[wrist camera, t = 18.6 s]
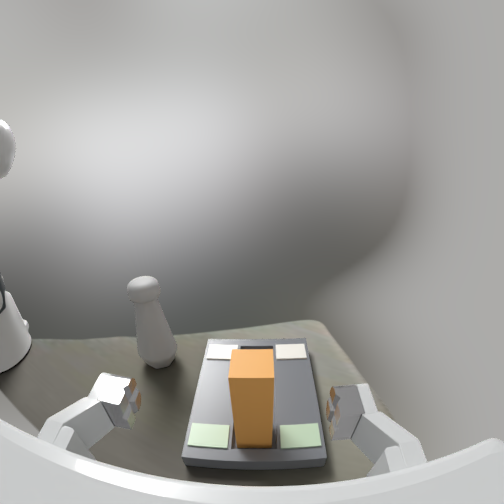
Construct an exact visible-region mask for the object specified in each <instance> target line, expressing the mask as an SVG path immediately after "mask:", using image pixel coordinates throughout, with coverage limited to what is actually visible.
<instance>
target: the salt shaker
mask: <svg viewBox="0 0 504 504" xmlns="http://www.w3.org/2000/svg"><path fill="white" fill-rule="evenodd" d="M127 292H128V296H129V299H130V301H132V302H133V303H134V304H135V320H136V334H137V348H138V354H139V356H140V357H141V358H142V359H143V360H144V361H145V362H146V363H147V364H148V365H150V366H152V367H154V368H156V369H159V368H163V367H168V366H169V365H170V364H171V362H172V361H173V360H174V358H175V354H176V351H177V344H176V341H175V339H174V337H173V335H172V332H171V330H170V328H169V325H168V323H167V321H166V319H165V316H164V314H163V311H162V308H161V306H160V304H159V301H158V297H159V295H160V287H159V284H158V281H157V280H156V279H155V278H153V277H151V276H141V277H138V278H135V279H133V280H131V281H130V283H129V284H128V285H127Z"/></svg>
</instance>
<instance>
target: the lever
mask: <svg viewBox="0 0 504 504" xmlns="http://www.w3.org/2000/svg"><path fill="white" fill-rule="evenodd" d="M228 381H229V389H230V398H231V406H232V414H233V421H234V429H235V436H236V444H237V448H272V430H273V403H274V360H273V349H232V352H231V360H230V367H229V375H228Z"/></svg>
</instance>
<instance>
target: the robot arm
mask: <svg viewBox="0 0 504 504" xmlns="http://www.w3.org/2000/svg"><path fill="white" fill-rule="evenodd" d="M14 157H15V139H14V135H13V132H12V130H11V129H10V127H9V126H8V125H7V123H6V122H4V121H3V120H1V119H0V179H2V178H3V177H5V176H6V175H7V174H8V172H9V170H10V169H11V166H12V164H13V161H14ZM3 281H4V280H3V277H2V275H1V273H0V373H1V372H3V371H6V370H8V369H9V368H11V367H13V366H14V365H15V364H17V363H18V362H19V361H20V360H21V359H22V358H23V357H24V356H25V355H26V353H27V352H28V350H29V348H30V345H31V336H30V334H29V333H28V328H29V325H28V323H27V321H26V320H23V319H22V317H21V315H20V313H19V311H18V309H17V307H16V305H15V303H14V300H13V298H12V296H11V294H10V293H9V292H7V291H5V285H4V282H3ZM135 387H136V381H135V379H133V378H128V377H123V376H118V375H113V374H108V373H102V374H100V376H99V378H98V379H97V381H96V383H95V385H94V387H93V388H92V390H91V392H90V394H89V396H88V397H84V398H82V399H81V400H79V401H77V402H75V403H74V404H72V405H70V406H69V407H67V408H65V409H63V410H62V411H60V412H58V413H56V414H55V415H53V416H51V417H49V418H48V419H47V421H46V422H45V424H44V426H43V428H42V429H41V431H40V433H39V435H38V437H34V436H32V435H30V434H28V433H26V432H24V431H22V430H20V429H18V428H16V427H14V426H12V425H10V424H8V423H7V422H5V421H3V420H1V419H0V504H504V442H503V441H501V440H499V439H496V438H490V439H487V440H485V441H482V442H480V443H478V444H476V445H473V446H471V447H468V448H466V449H464V450H461V451H458V452H456V453H453V454H450V455H448V456H445V457H442V458H439V459H436V460H433V461H430V462H427V460H426V457H425V455H424V452H423V449H422V447H421V444H420V441H419V439H417V438H416V437H415V436H413V435H412V434H410V433H409V432H408V431H406V430H405V429H404V428H402V427H401V426H400V425H398V424H397V423H396V422H394V421H393V420H392V419H390V418H389V417H388V416H386V415H385V414H384V413H382V412H378V410H377V407H376V405H375V402H374V399H373V396H372V393H371V390H370V388H369V385H368V384H367V383H366V384H356V385H345V386H333V387H332V388H331V390H330V396H331V397H330V398H329V399H328V401H327V408H326V413H327V420H328V421H330V422H331V424H330V427H329V431H330V436H331V440H343V439H351V440H352V442H353V443H354V444H355V445H356V446H357V447H358V448H359V449H360V450H361V451H362V452H363V453H364V454H365V455H366V456H367V457H368V458H369V459H370V460H371V461H372V462H373V463H374V464H375V465H374V466H373V468H372V469H371V470H370V472H369V473H368V474H367V475H366V477H365V478H360V479H354V480H347V481H340V482H332V483H323V484H313V485H299V486H232V485H218V484H207V483H198V482H190V481H183V480H176V479H170V478H165V477H159V476H154V475H149V474H145V473H140V472H136V471H132V470H128V469H124V468H120V467H116V466H113V465H109V464H106V463H102V462H99V461H96V460H95V457H94V456H93V454H92V453H91V452H90V451H89V448H90V447H91V446H93V445H94V444H95V443H96V442H97V441H99V440H100V439H101V438H102V437H103V436H105V435H106V434H107V433H108V432H109V431H111V430H112V429H113V428H114V426H116V427H121V428H126V429H131V430H132V427H133V425H134V422H135V419H136V417H135V415H134V413H136V412H137V411H139V408H140V406H141V394H140V392H139V390H138V389H136V388H135Z"/></svg>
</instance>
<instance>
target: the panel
mask: <svg viewBox="0 0 504 504" xmlns="http://www.w3.org/2000/svg"><path fill="white" fill-rule="evenodd" d="M232 349H273V360H274V403H273V430H272V448H237V444H236V436H235V429H234V421H233V414H232V406H231V398H230V389H229V381H228V375H229V367H230V360H231V352H232ZM181 457H182V459H183V461H184V463H185V465H188V466H197V467H208V468H221V469H244V470H273V469H296V468H310V467H320V466H324V464H325V462H326V459H327V455H326V449H325V442H324V436H323V430H322V424H321V418H320V413H319V407H318V401H317V396H316V390H315V384H314V379H313V374H312V368H311V363H310V358H309V353H308V348H307V342H306V338H297V339H208V343H207V348H206V352H205V356H204V360H203V364H202V368H201V373H200V377H199V381H198V385H197V390H196V394H195V398H194V403H193V407H192V411H191V416H190V420H189V425H188V429H187V434H186V438H185V443H184V447H183V452H182V456H181Z"/></svg>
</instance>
